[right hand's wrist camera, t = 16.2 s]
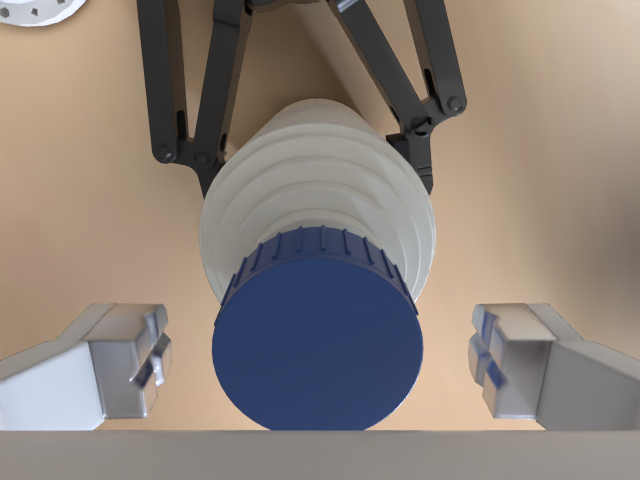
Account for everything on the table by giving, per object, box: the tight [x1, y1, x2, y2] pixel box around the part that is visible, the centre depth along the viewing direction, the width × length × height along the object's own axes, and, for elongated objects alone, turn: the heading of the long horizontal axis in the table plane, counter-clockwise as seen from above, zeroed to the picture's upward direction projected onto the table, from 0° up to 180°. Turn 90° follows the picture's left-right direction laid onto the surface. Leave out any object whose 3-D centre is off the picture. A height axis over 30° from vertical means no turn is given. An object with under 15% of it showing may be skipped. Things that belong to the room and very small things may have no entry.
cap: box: [212, 225, 423, 430], centre depth 10 cm, size 4×4×2 cm
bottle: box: [199, 98, 436, 303], centre depth 20 cm, size 8×8×22 cm
